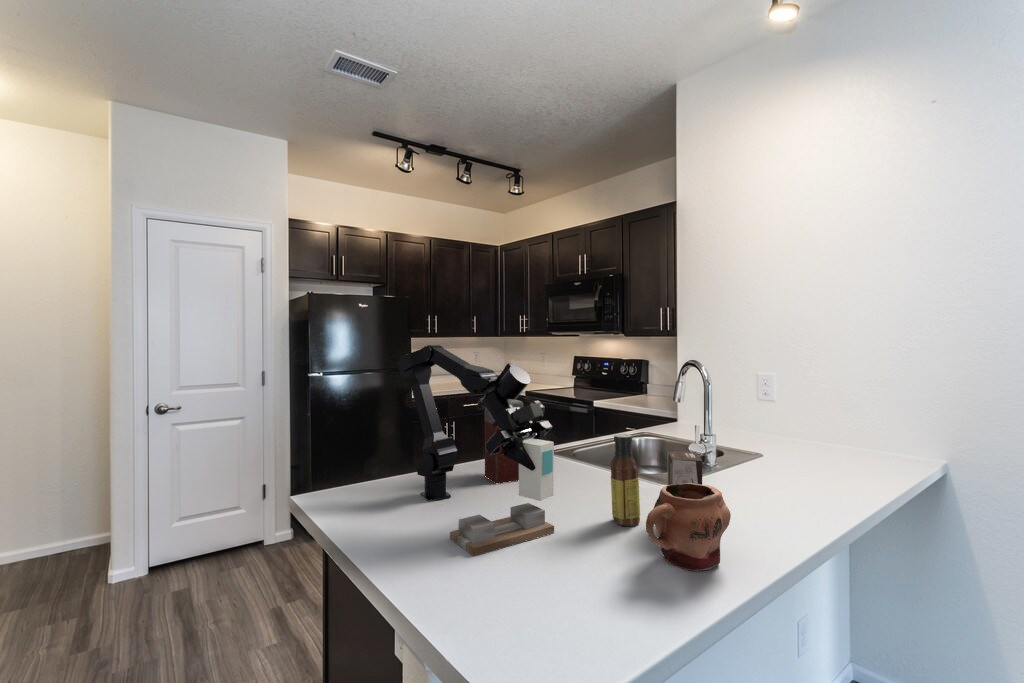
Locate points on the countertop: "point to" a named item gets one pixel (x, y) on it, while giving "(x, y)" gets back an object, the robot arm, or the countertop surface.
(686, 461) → the coffee box
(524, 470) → the block
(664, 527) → the terracotta clay mug
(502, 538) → the rail board
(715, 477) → the countertop surface
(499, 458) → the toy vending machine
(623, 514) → the sauce bottle
